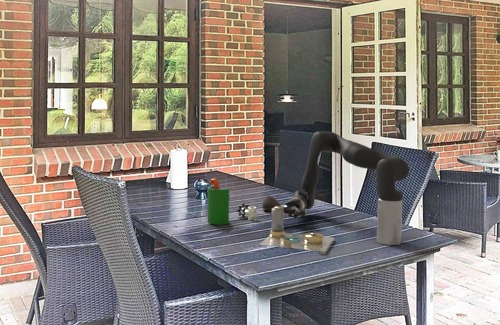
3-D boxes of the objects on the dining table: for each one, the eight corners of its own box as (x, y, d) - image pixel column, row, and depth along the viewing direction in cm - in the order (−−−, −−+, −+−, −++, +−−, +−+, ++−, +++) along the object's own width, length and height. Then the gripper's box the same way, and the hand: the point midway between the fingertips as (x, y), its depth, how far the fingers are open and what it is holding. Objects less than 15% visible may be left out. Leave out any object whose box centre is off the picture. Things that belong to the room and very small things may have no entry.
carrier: (334, 240, 210) (334, 229, 210) (324, 254, 192) (324, 242, 192) (273, 234, 218) (273, 224, 218) (259, 247, 201) (259, 236, 200)
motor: (233, 221, 240) (232, 178, 237) (221, 226, 232) (221, 180, 229) (214, 218, 245) (214, 176, 242) (203, 222, 238) (202, 178, 235)
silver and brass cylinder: (286, 234, 215) (286, 206, 213) (282, 238, 209) (282, 209, 208) (272, 233, 216) (272, 205, 215) (268, 236, 211) (268, 208, 209)
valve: (260, 222, 240) (249, 216, 250) (260, 207, 239) (249, 202, 249) (247, 223, 237) (236, 217, 247) (247, 209, 236) (236, 203, 247)
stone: (276, 215, 267) (262, 201, 269) (286, 205, 263) (272, 190, 264) (268, 222, 259) (254, 207, 260) (279, 212, 255) (264, 197, 256)
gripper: (279, 197, 239) (268, 204, 224) (310, 199, 234) (301, 207, 219) (279, 213, 240) (268, 222, 225) (310, 216, 235) (301, 225, 220)
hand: (284, 214), depth 222 cm, fingers open, 8 cm apart
